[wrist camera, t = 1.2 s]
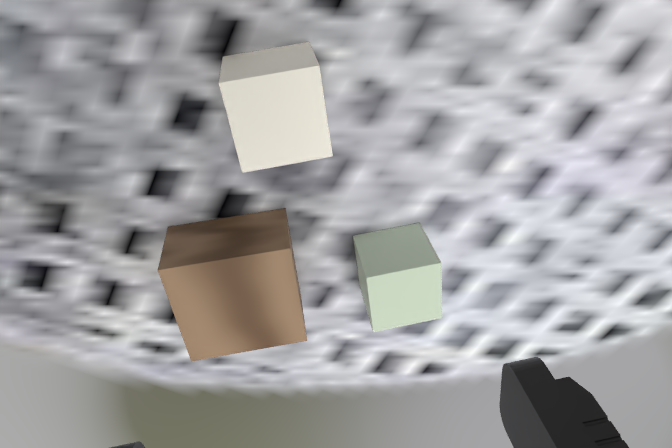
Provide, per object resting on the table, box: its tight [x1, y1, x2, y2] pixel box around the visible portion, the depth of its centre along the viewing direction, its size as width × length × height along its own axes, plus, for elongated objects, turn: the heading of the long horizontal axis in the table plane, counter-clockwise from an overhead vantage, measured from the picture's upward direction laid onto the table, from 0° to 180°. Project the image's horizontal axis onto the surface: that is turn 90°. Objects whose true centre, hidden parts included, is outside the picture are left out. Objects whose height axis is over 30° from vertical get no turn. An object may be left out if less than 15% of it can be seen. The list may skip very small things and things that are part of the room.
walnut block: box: [158, 208, 307, 361], centre depth 35 cm, size 8×8×5 cm
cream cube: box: [219, 42, 333, 173], centre depth 28 cm, size 5×5×5 cm
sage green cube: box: [353, 223, 442, 332], centre depth 36 cm, size 5×5×5 cm
